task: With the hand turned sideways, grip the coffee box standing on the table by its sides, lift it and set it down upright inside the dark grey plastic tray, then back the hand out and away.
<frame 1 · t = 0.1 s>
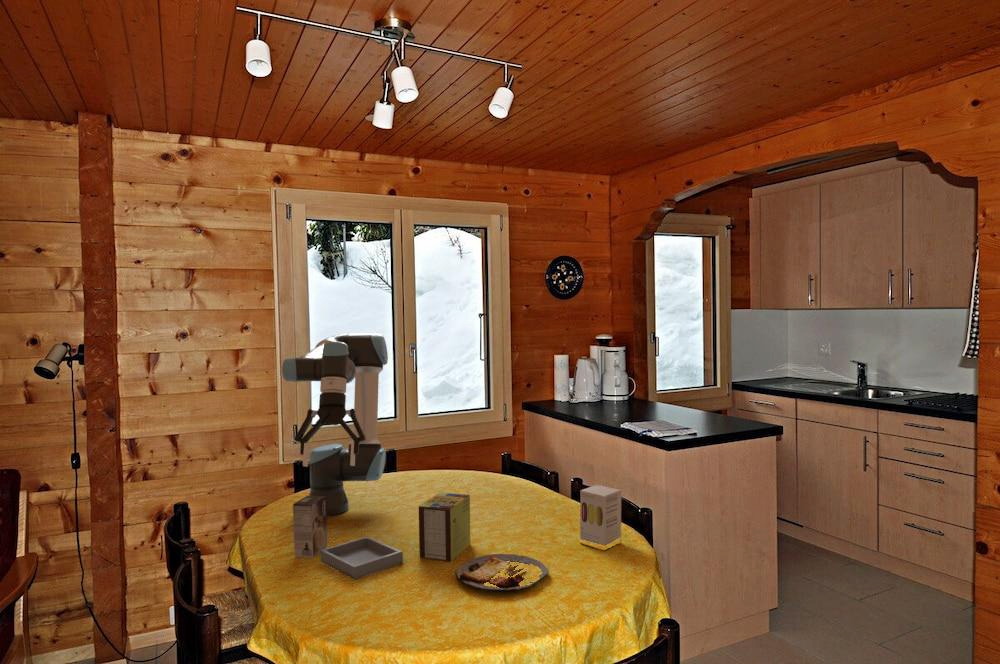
hand: (328, 466, 192), 28 cm above the table, tool tilted 20°, fingers open, 13 cm apart
food plate: (501, 578, 180), on the table
tray: (361, 562, 191), on the table
coffee box: (311, 553, 200), on the table
supplement box: (600, 544, 205), on the table
protein box: (445, 551, 200), on the table
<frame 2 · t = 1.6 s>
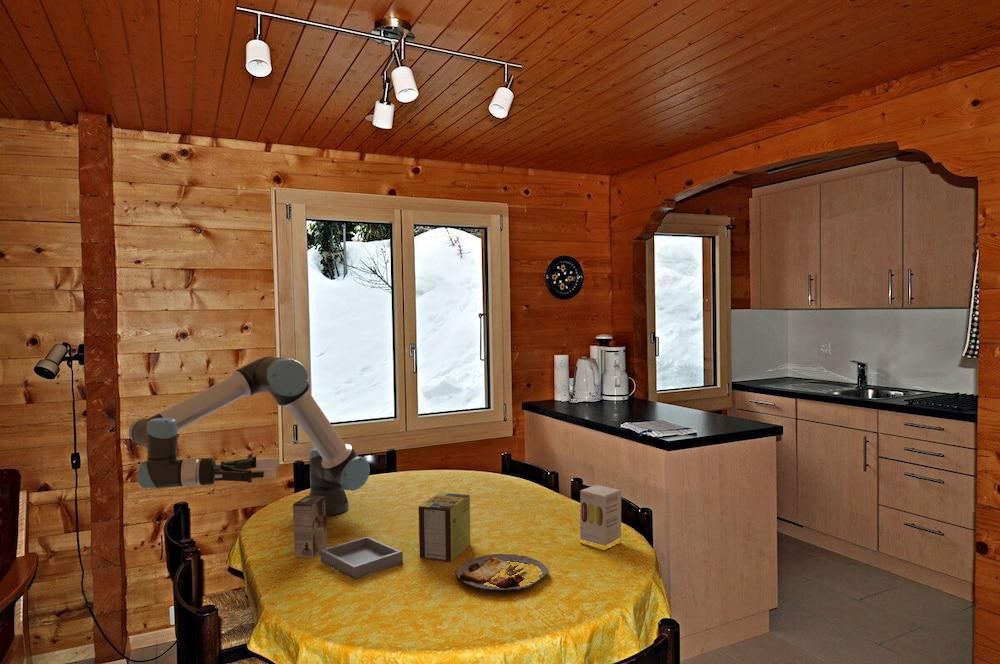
hand: (277, 467, 196), 26 cm above the table, tool horizontal, fingers open, 13 cm apart
nothing on the table moved.
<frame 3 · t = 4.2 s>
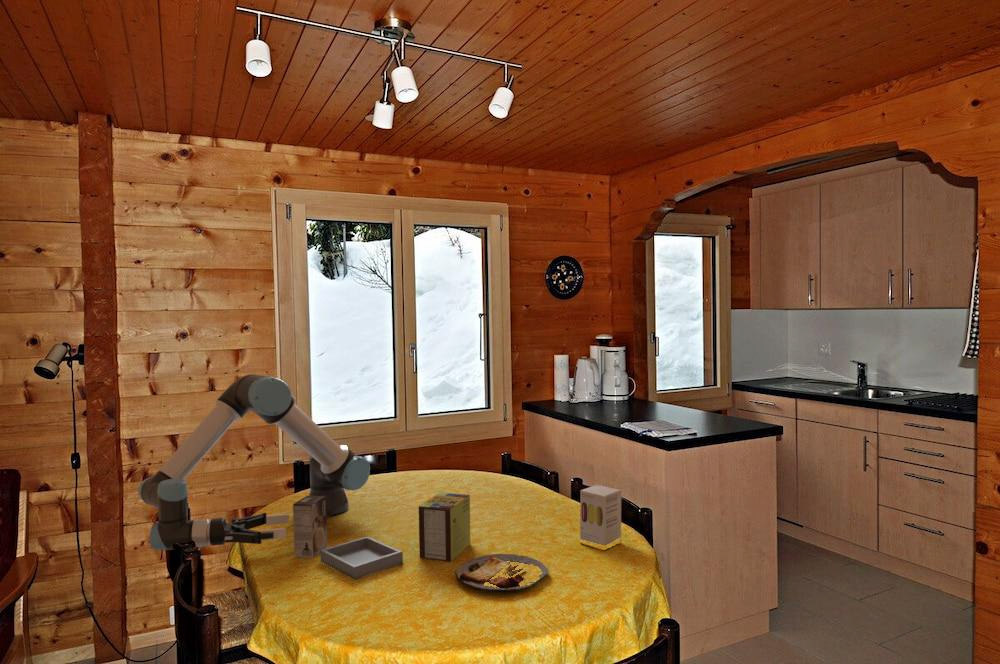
hand: (287, 525, 197), 9 cm above the table, tool horizontal, fingers open, 13 cm apart
nothing on the table moved.
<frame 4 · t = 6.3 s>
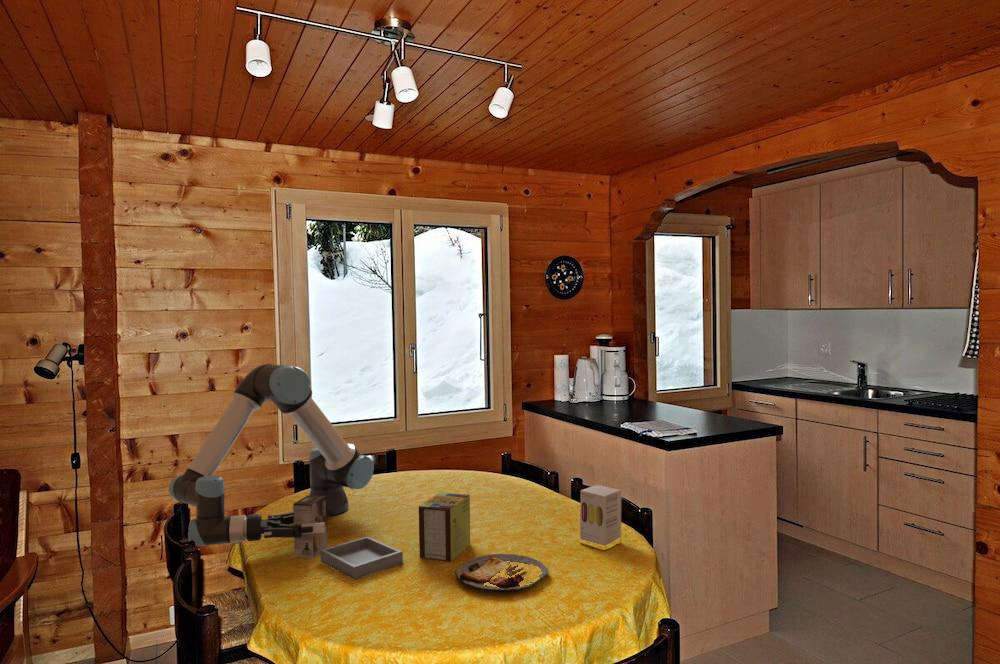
hand: (325, 521, 200), 9 cm above the table, tool horizontal, fingers closed on coffee box, 10 cm apart
coffee box: (311, 552, 200), on the table, touching gripper
everything else where it was.
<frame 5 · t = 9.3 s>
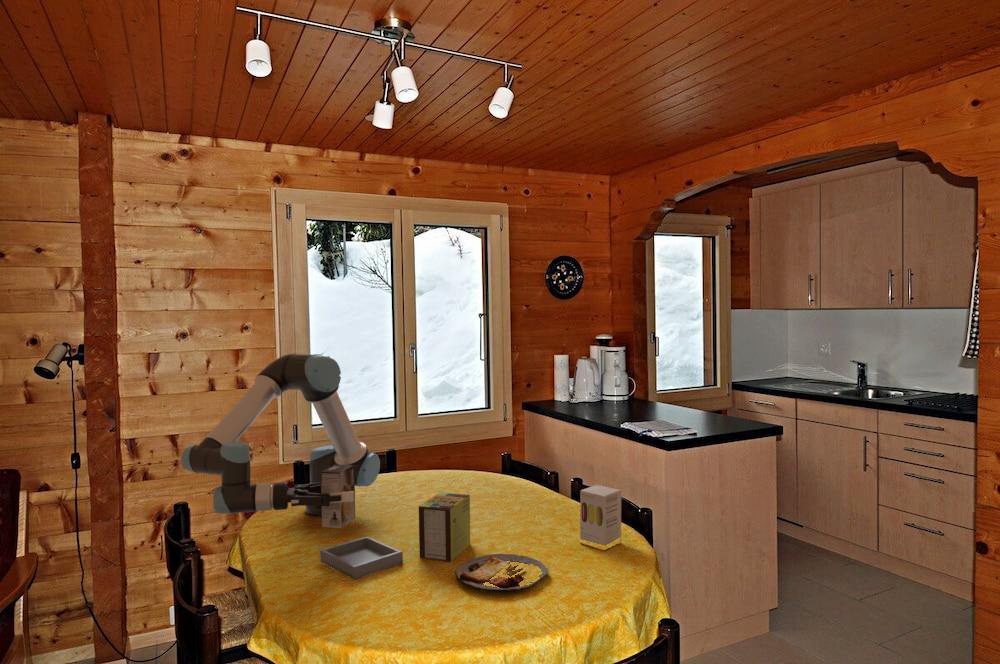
hand: (353, 491, 193), 20 cm above the table, tool horizontal, fingers closed on coffee box, 10 cm apart
coffee box: (338, 523, 192), point 11 cm above the table, touching gripper
everything else where it was.
when the fingers open (11 cm above the table, at t = 12.5 s): coffee box drops 1 cm, resting on tray.
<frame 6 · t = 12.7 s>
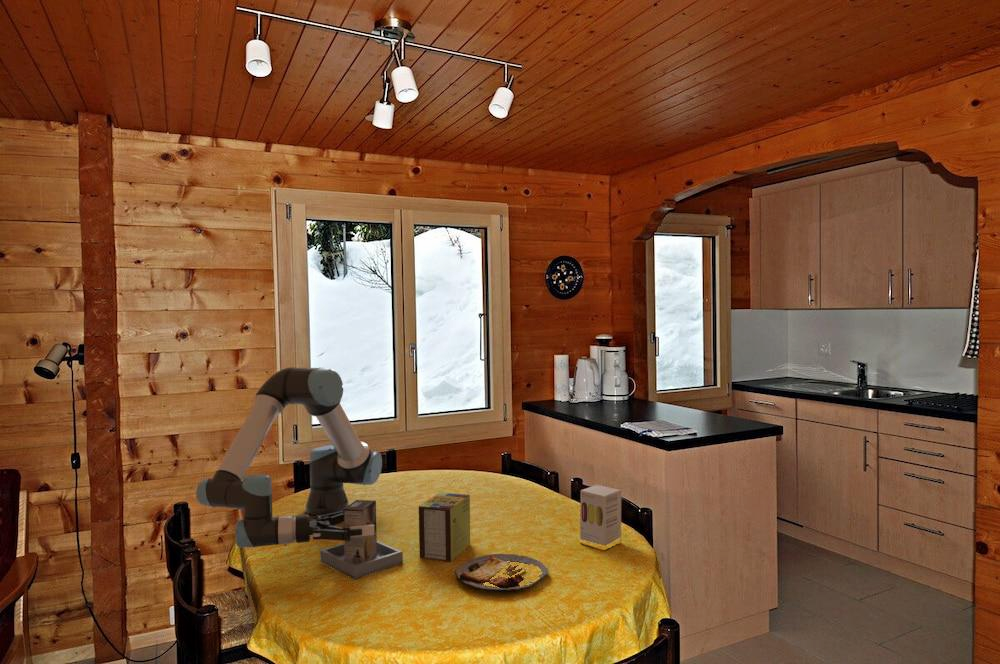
hand: (372, 522, 191), 11 cm above the table, tool horizontal, fingers open, 13 cm apart
coffee box: (361, 560, 191), point 1 cm above the table, touching tray
everything else where it was.
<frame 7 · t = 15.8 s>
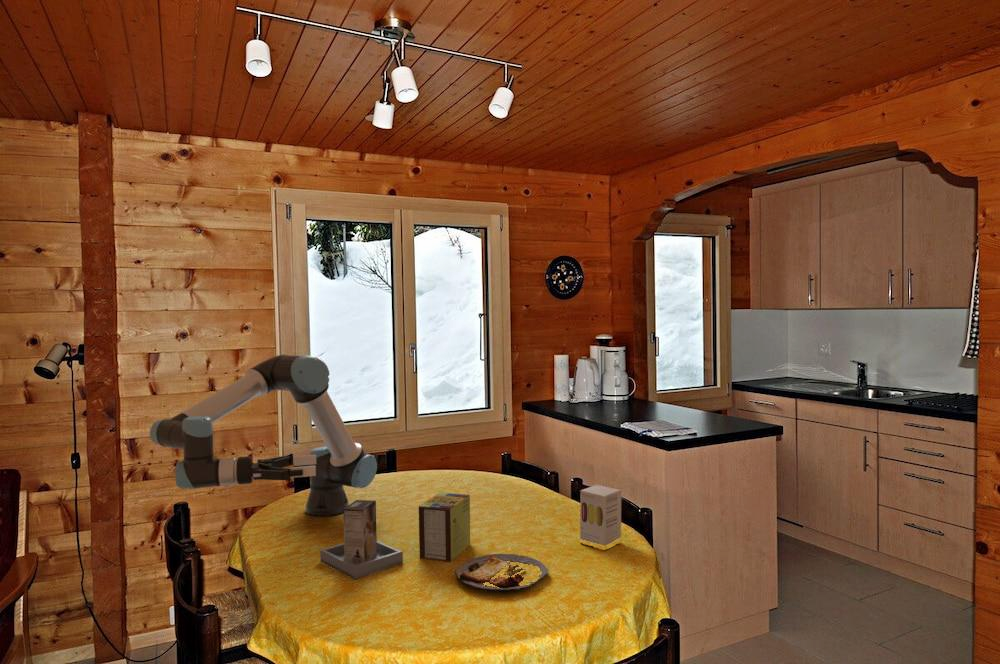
hand: (316, 464, 191), 28 cm above the table, tool horizontal, fingers open, 13 cm apart
nothing on the table moved.
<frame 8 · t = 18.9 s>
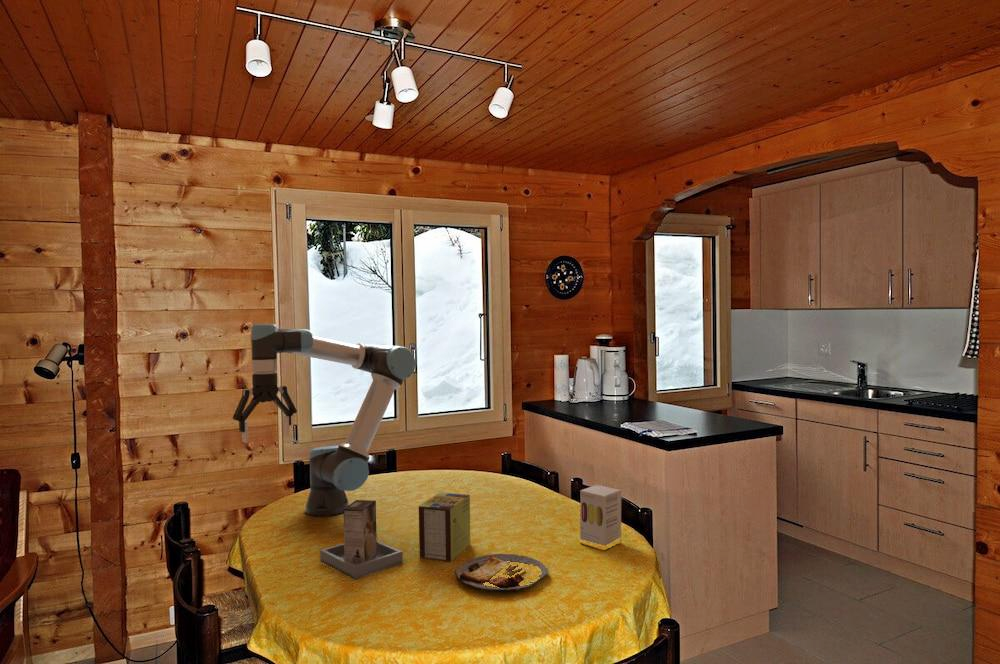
hand: (266, 439, 212), 32 cm above the table, tool pointing down, fingers open, 13 cm apart
nothing on the table moved.
at the end: coffee box inside the target area on the tray (0.1 cm from its centre), point 0.8 cm above the tray's base; coffee box tilted 0°; the gripper is holding nothing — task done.
